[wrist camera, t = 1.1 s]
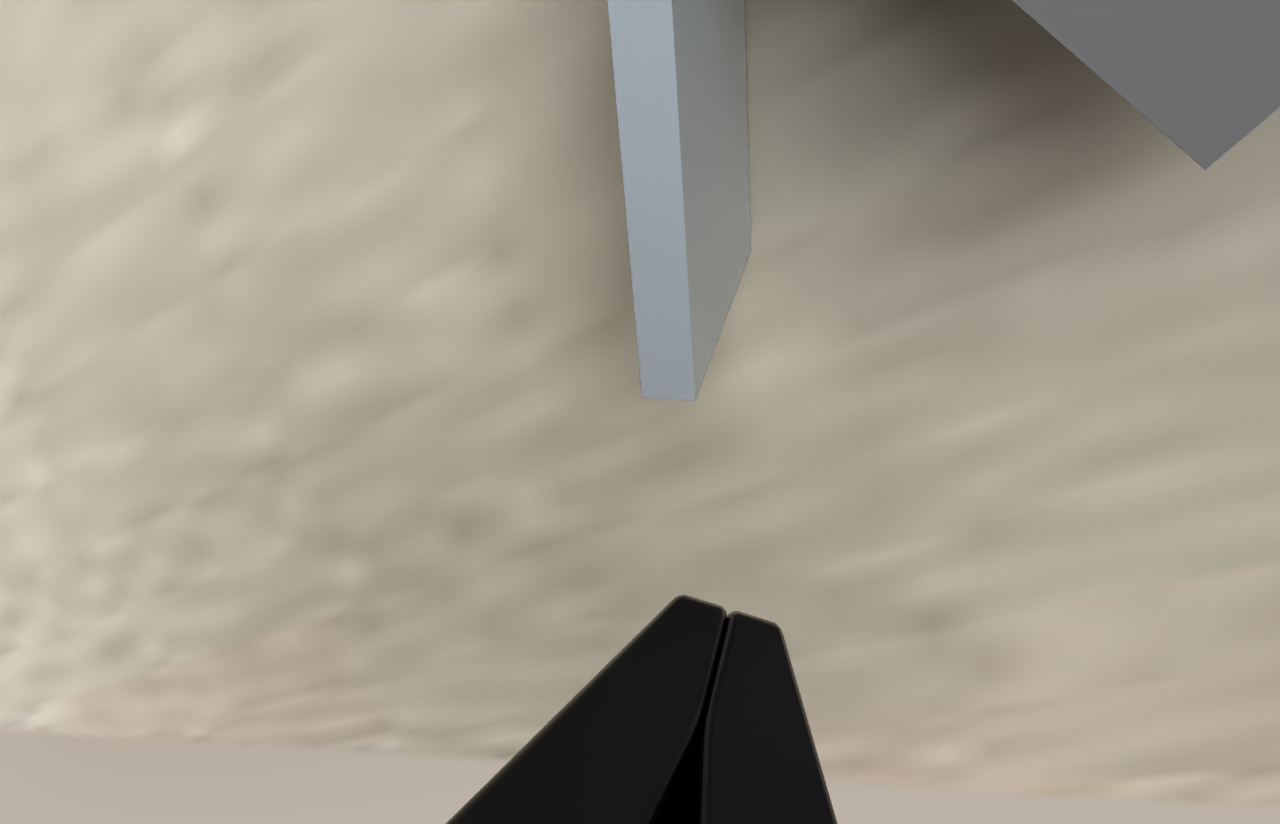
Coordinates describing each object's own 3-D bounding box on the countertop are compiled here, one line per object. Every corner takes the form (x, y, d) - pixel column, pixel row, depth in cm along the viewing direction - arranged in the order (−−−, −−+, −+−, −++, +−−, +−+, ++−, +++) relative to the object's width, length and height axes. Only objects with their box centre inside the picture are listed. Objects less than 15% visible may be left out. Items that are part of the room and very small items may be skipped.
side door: (740, -320, 17) (657, -289, 13) (754, 247, 22) (697, 405, 18) (678, -315, 17) (575, -283, 13) (705, 245, 22) (637, 400, 18)
